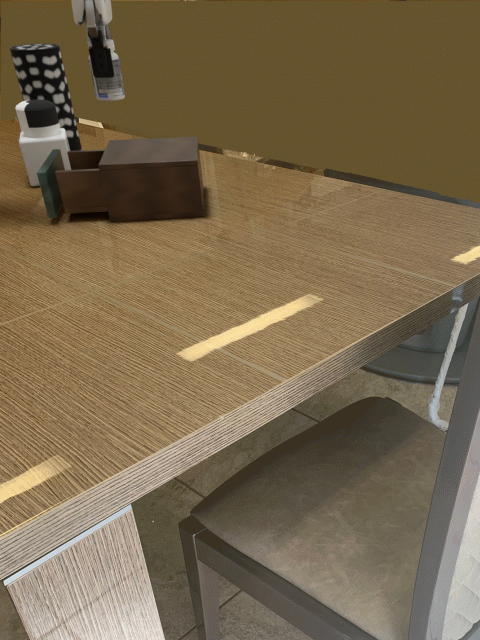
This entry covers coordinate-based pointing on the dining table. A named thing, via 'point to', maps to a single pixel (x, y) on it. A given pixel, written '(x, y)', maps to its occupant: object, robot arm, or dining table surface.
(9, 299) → the dining table surface
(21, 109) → the container
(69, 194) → the drawer
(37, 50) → the spotted tube
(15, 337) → the dining table surface
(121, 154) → the cabinet
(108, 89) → the pill bottle
